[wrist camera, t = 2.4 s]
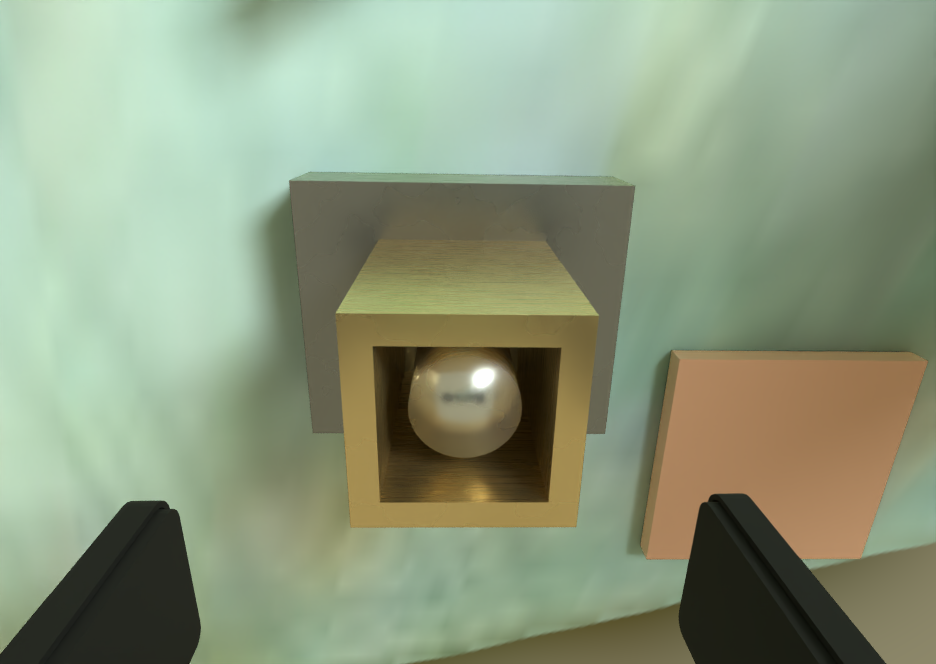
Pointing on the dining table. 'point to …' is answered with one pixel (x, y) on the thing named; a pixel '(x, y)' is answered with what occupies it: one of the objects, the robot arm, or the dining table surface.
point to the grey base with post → (455, 218)
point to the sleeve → (465, 325)
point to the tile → (780, 443)
